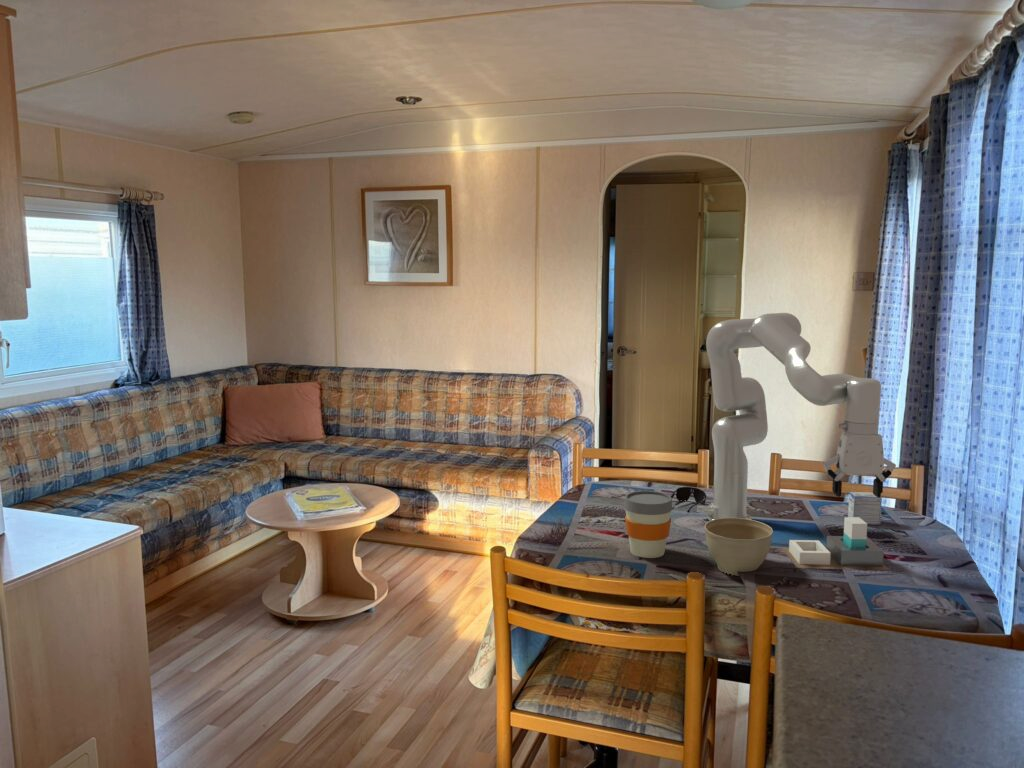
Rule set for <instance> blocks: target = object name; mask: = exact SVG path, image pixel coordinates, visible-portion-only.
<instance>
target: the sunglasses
mask: <svg viewBox="0 0 1024 768" xmlns="http://www.w3.org/2000/svg"><path fill="white" fill-rule="evenodd" d="M691 495H693V497H694V501H695V503H694V504H692V505H691V506H690V507H689V509H687V511H686V512H687V513H689V512H690V511H691V509H692V508H693V507H696V506H698V504H699V503H700V504H699V505H705V504H706V501H707V494H706V492H705V491H704V490H702V489H700V488H697V487H692V486H681V487H677V488H676V489H675V490H674V492H673V493H672V494H671V495H669V496H670V497H671V499H673V498H674V497H676V499H677V500H678V501H680V500H686V501H685V502H688V501H689V500H690V497H691ZM696 502H697V503H696Z"/></svg>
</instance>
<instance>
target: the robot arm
mask: <svg viewBox="0 0 1024 768" xmlns="http://www.w3.org/2000/svg"><path fill="white" fill-rule="evenodd" d="M801 334H802V324H801V322H800V320H799V319H798V318H797V317H796V315H793V314H792V313H790V312H776V313H774V312H773V313H766V314H762V315H759V316H758V317H756V318H737V319H736V318H735V319H733V318H732V319H727V320H723V321H719V322H717V323H715V325H713V326H712V327H711V328H710V330H709V331H708V333H707V336H706V342H705V343H706V353H707V356H708V361H709V366H710V377H711V378H710V379H711V386H712V395H713V402H714V406H715V407H716V409H718V410H719V411H721V412H737V411H738V412H739V414H735V415H730V416H729V415H728V416H724V417H722V418H719V419H718V420H717V421H716V422H715V423H714V424H713V426H712V429H711V438H712V444H713V451H714V452H713V453H714V459H713V460H714V464H713V465H714V466H713V467H714V468H713V474H714V475H713V502H712V501H711V502H710V504H708V505H707V506H704V505H696V511H697V512H696V513H702V515H707V519H708V522H709V521H711V520H714V519H719V518H743V519H750V520H752V517H751V515H749V514H747V503H748V502H747V499H748V477H749V475H748V473H749V472H748V471H749V470H748V469H749V465H748V464H749V463H748V458H747V456H746V453H745V450H744V447H745V448H746V447H749V446H754V445H758V444H761V443H762V442H764V441H765V440H766V437H767V436H768V431H769V429H768V428H769V424H768V423H769V422H768V414H767V403H766V397H765V391H764V388H763V386H762V384H761V383H760V382H759V381H758V380H757V379H755V378H754V377H747V376H746V377H743V375H742V369H741V363H740V360H739V358H738V356H737V355H736V353H735V352H734V350H737V349H751V348H759V347H760V348H761V347H764V348H765V349H766V351H768V352H769V353H770V354H771V355H772V356H773V357H775V358H776V359H777V360H778V361H779V362H780V363H781V364H782V365H783V366H784V369H785V371H784V372H785V373H786V377H787V380H788V382H789V383H790V385H791V386H792V387H793V389H794V390H795V391H796V392H797V393H798V394H800V396H802V397H803V398H804V399H805V400H807V401H808V402H809V403H811V404H813V405H816V406H819V407H825V406H830V405H839V404H841V405H842V404H845V415H844V417H845V418H844V420H843V421H844V422H842V423H839V425H838V428H839V429H840V430H843V432H841V435H840V438H839V440H838V441H839V442H838V446H837V451H836V455H835V456H833V457H830V458H828V459H827V460H825V461H823V462H822V465H823V468H824V470H825V472H826V474H827V475H829V476H830V478H832V493H833V494H834V496H836V497H837V498H838V497H839V498H840V497H841V496H842V489H843V487H842V485H843V482H842V480H841V479H842V478H843V477H844V476H845V475H846V476H847V475H848V476H874V477H875V478H874V479H873V485H872V492H873V494H874V495H875V496H877V497H882V494H883V492H884V491H883V489H884V482H886V480H887V478H889V477H890V476H891V475H892V473H893V472H894V470H895V469H896V466H897V465H896V463H894V462H893V461H891V460H889V459H887V458H885V454H884V441H883V436H882V434H881V433H879V423H880V410H881V409H880V408H881V397H882V396H881V394H882V384H881V382H880V381H879V380H878V379H876V378H868V377H859V376H854V375H851V374H848V373H833V374H826V375H822V374H820V373H818V372H817V371H816V370H815V369H814V368H812V367H811V366H810V364H809V363H808V361H806V360H807V358H808V357H809V355H810V352H811V350H812V349H811V343H809V342H808V340H806V339H805V338H803V337H802V335H801ZM833 465H835V467H836V469H835V470H833V469H832V466H833ZM884 465H885V466H886V467H885V466H884Z"/></svg>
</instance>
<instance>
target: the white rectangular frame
mask: <svg viewBox="0 0 1024 768" xmlns="http://www.w3.org/2000/svg"><path fill="white" fill-rule="evenodd" d="M788 543H789V544H788V547H789V552H790V553H791V554H792V555H793V557H794V558H795V559H796V560H797V562H798V563H799V564H825V565H830V555H831V553H830V552H829V551H828V550H827V549H826V548H827V547H826V546H825V545H824V544H823V543H822V542H821V541H820V540H818V539H817V540H816V539H815V540H812V539H811V540H809V539H789V542H788Z"/></svg>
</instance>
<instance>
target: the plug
mask: <svg viewBox="0 0 1024 768" xmlns="http://www.w3.org/2000/svg"><path fill="white" fill-rule="evenodd" d="M843 521H844V522H843V536H844V537H843V542H844V543H845V544H846V545H847V546H848V547H849V548H866V537H868V536H867V534H868V524H867V523H866V522H864V521H863V520H862V519H861V518H859V517H848V516H845V517H844V520H843Z"/></svg>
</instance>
